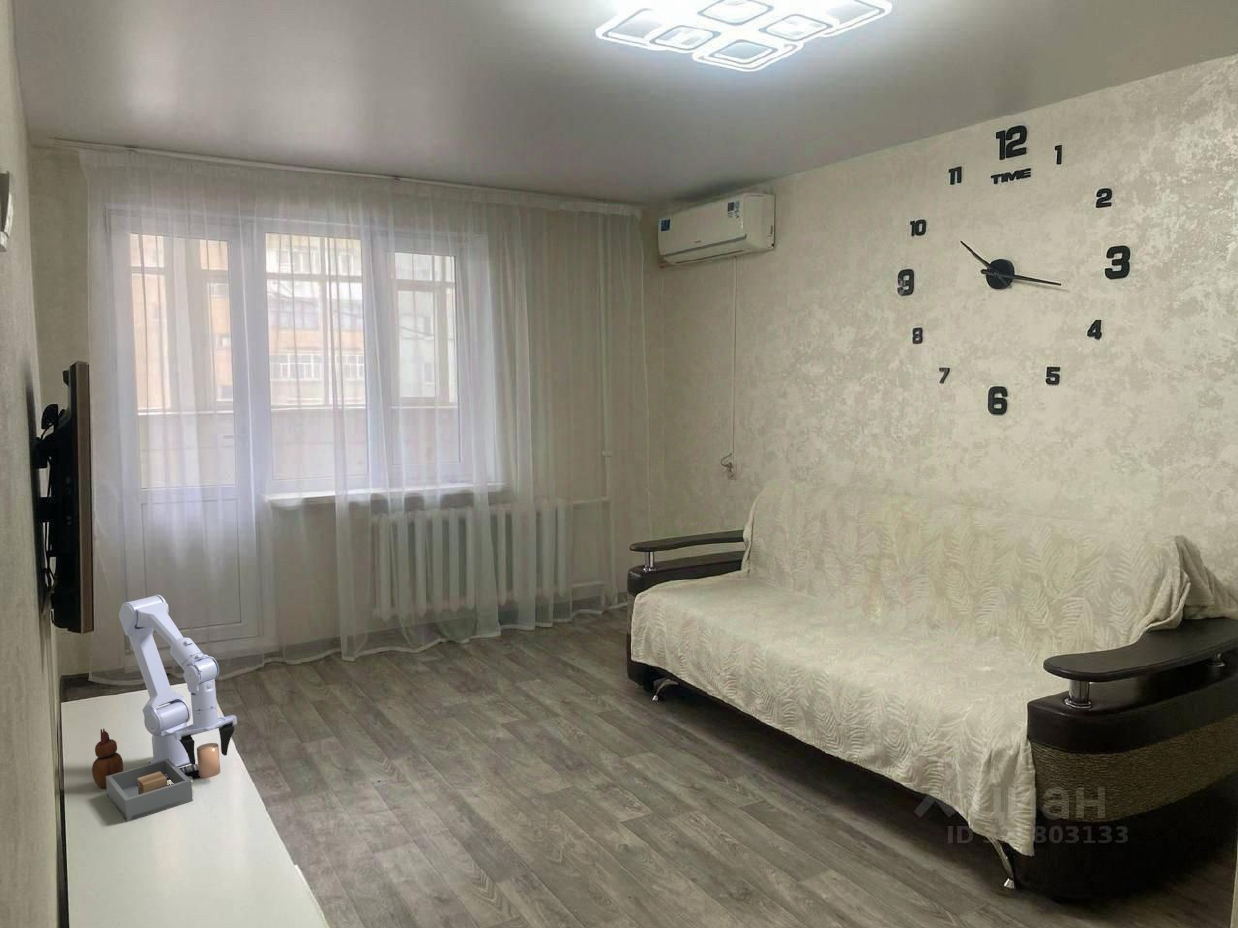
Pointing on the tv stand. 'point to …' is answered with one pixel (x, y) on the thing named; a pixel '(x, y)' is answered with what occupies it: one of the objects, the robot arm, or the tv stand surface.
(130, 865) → the tv stand surface
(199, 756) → the terracotta cylinder
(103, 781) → the wooden figurine
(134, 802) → the tote
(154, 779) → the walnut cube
